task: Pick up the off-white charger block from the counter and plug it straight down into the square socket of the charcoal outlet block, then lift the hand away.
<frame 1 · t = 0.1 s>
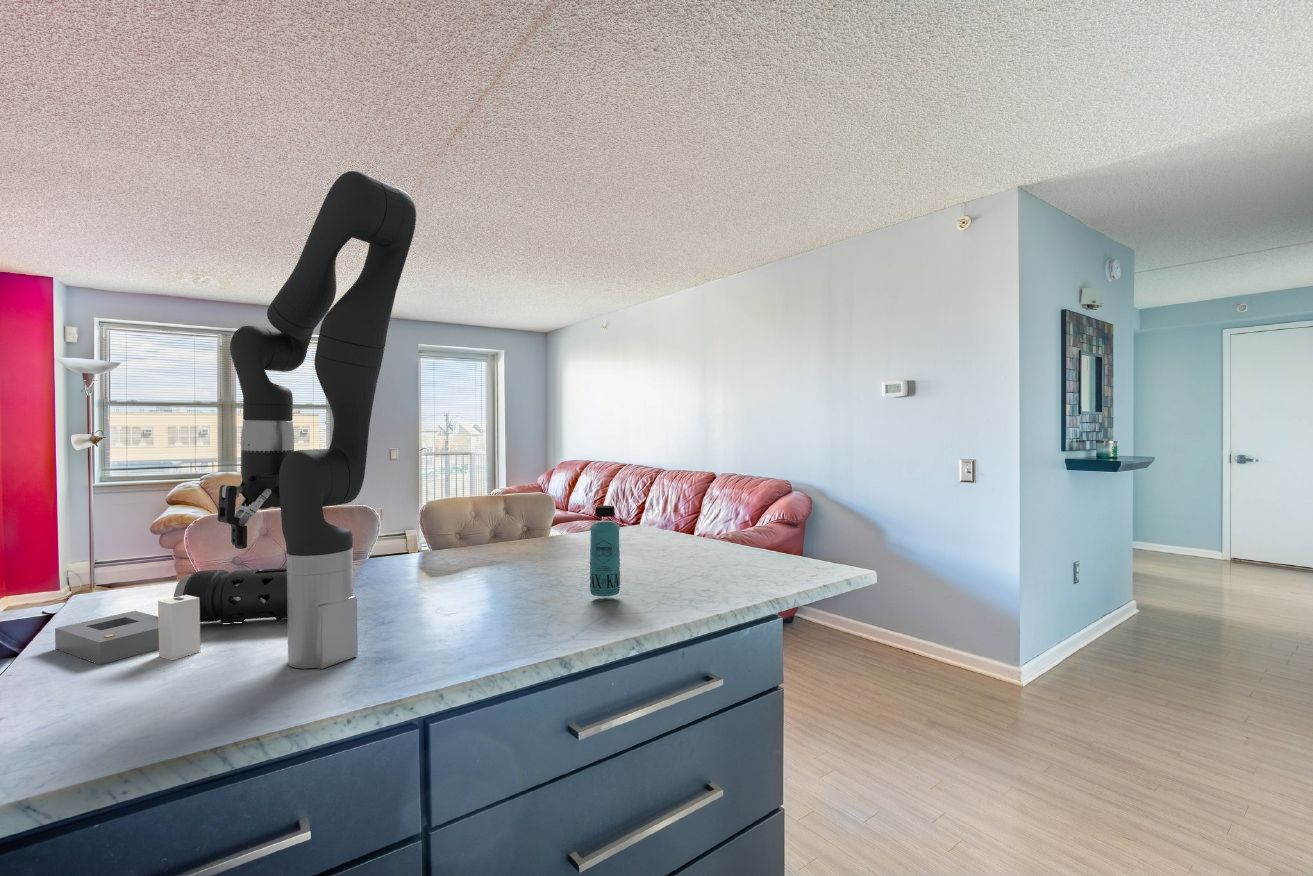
hand: (267, 543, 102), 17 cm above the worktop, tool pointing down, fingers open, 8 cm apart
charger: (179, 654, 99), on the worktop
muzzle brake: (268, 622, 116), on the worktop
outlet block: (119, 645, 103), on the worktop
beverage bottle: (605, 600, 128), on the worktop
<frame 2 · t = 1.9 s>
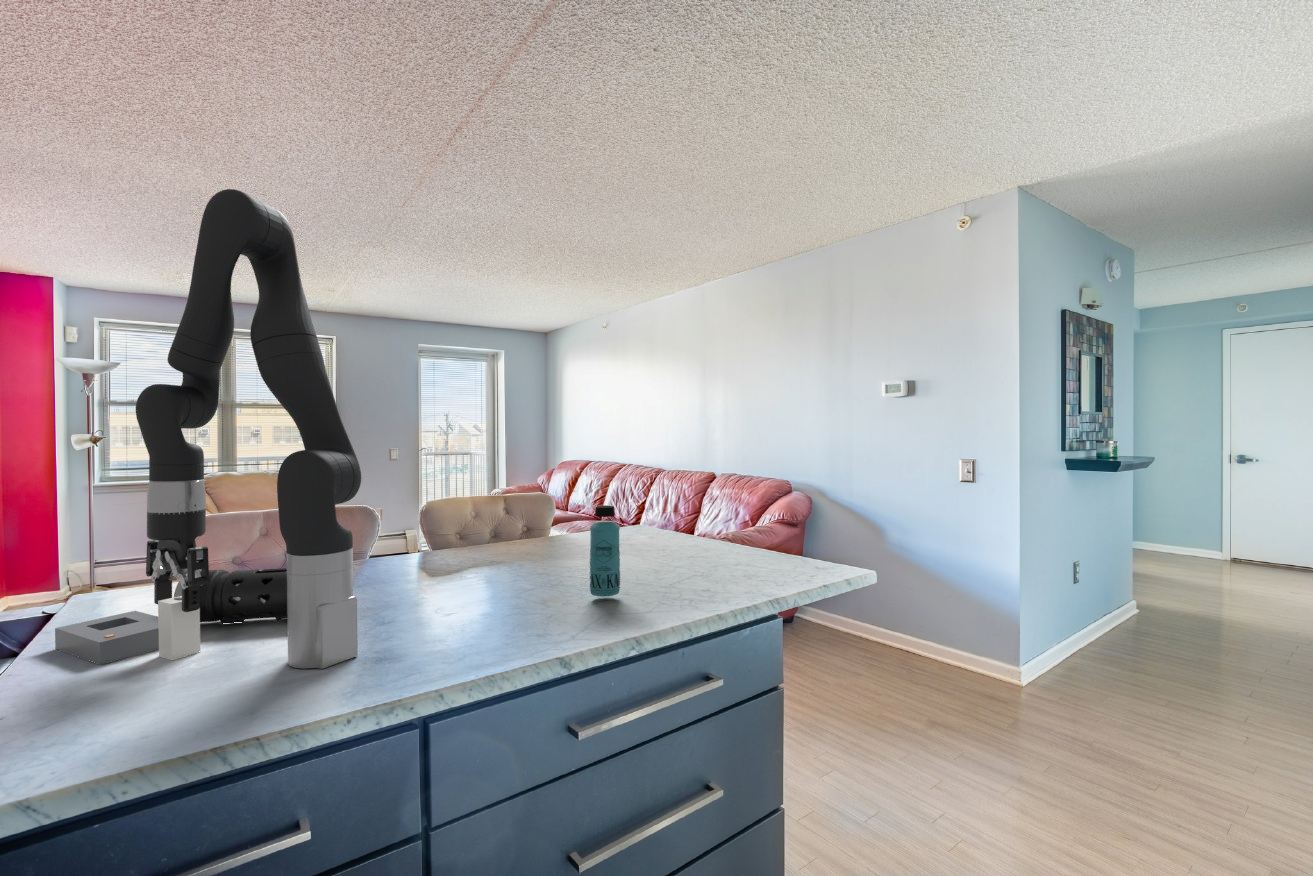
hand: (176, 607, 99), 8 cm above the worktop, tool pointing down, fingers open, 8 cm apart
nothing on the worktop moved.
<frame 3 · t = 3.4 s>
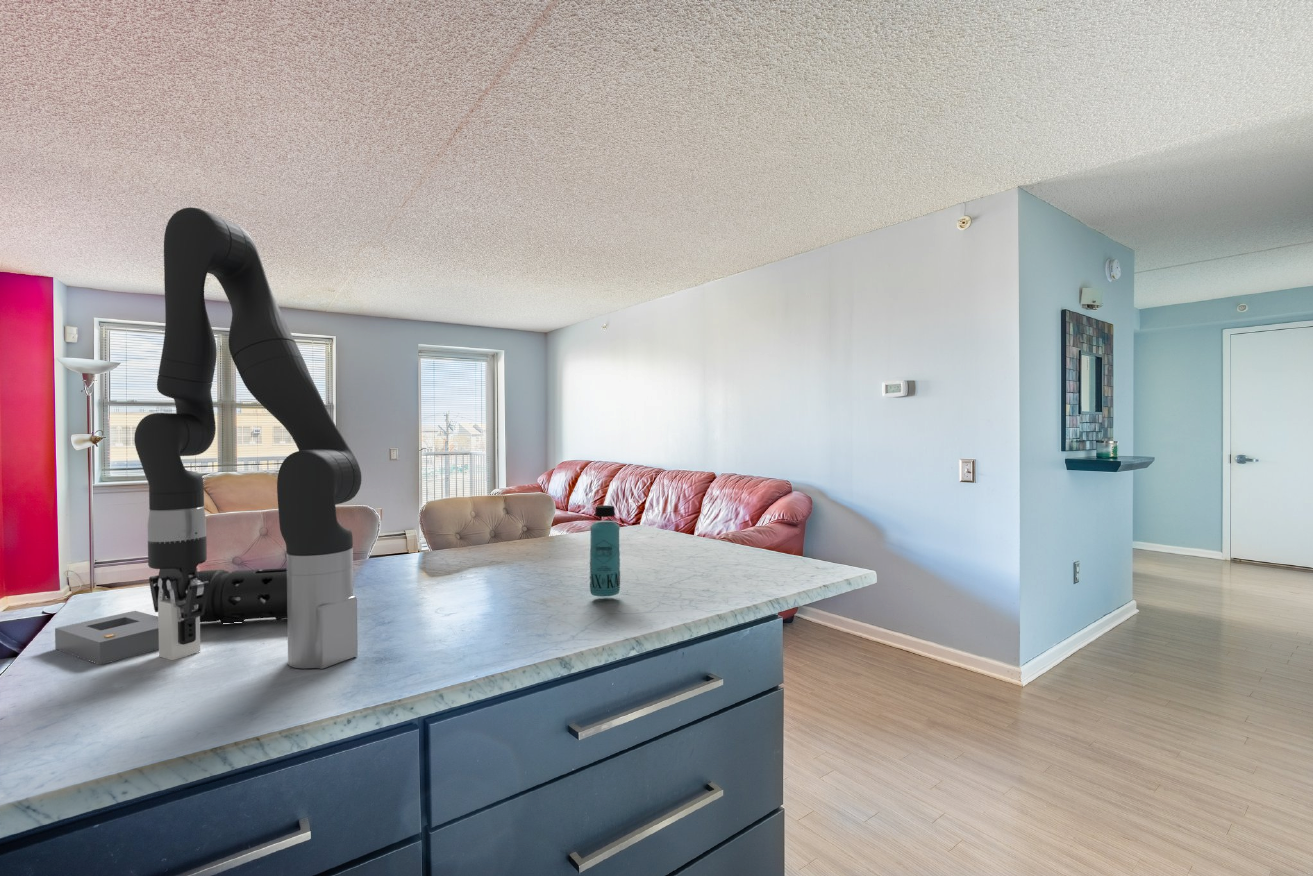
hand: (179, 640, 99), 2 cm above the worktop, tool pointing down, fingers closed on charger, 4 cm apart
charger: (179, 654, 99), on the worktop, touching gripper
everything else where it was.
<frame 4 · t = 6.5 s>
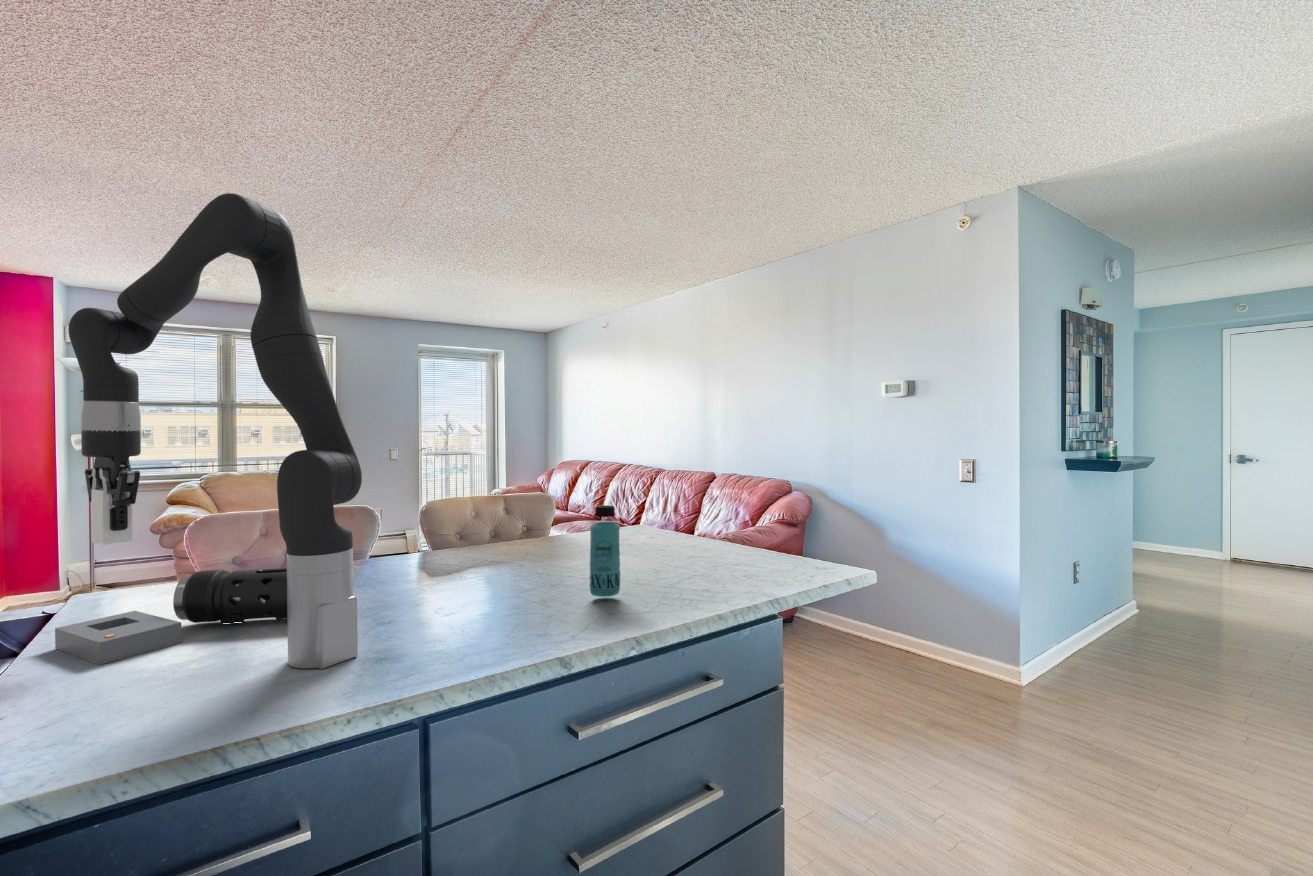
hand: (112, 528, 103), 20 cm above the worktop, tool pointing down, fingers closed on charger, 4 cm apart
charger: (112, 541, 103), point 18 cm above the worktop, touching gripper
everything else where it was.
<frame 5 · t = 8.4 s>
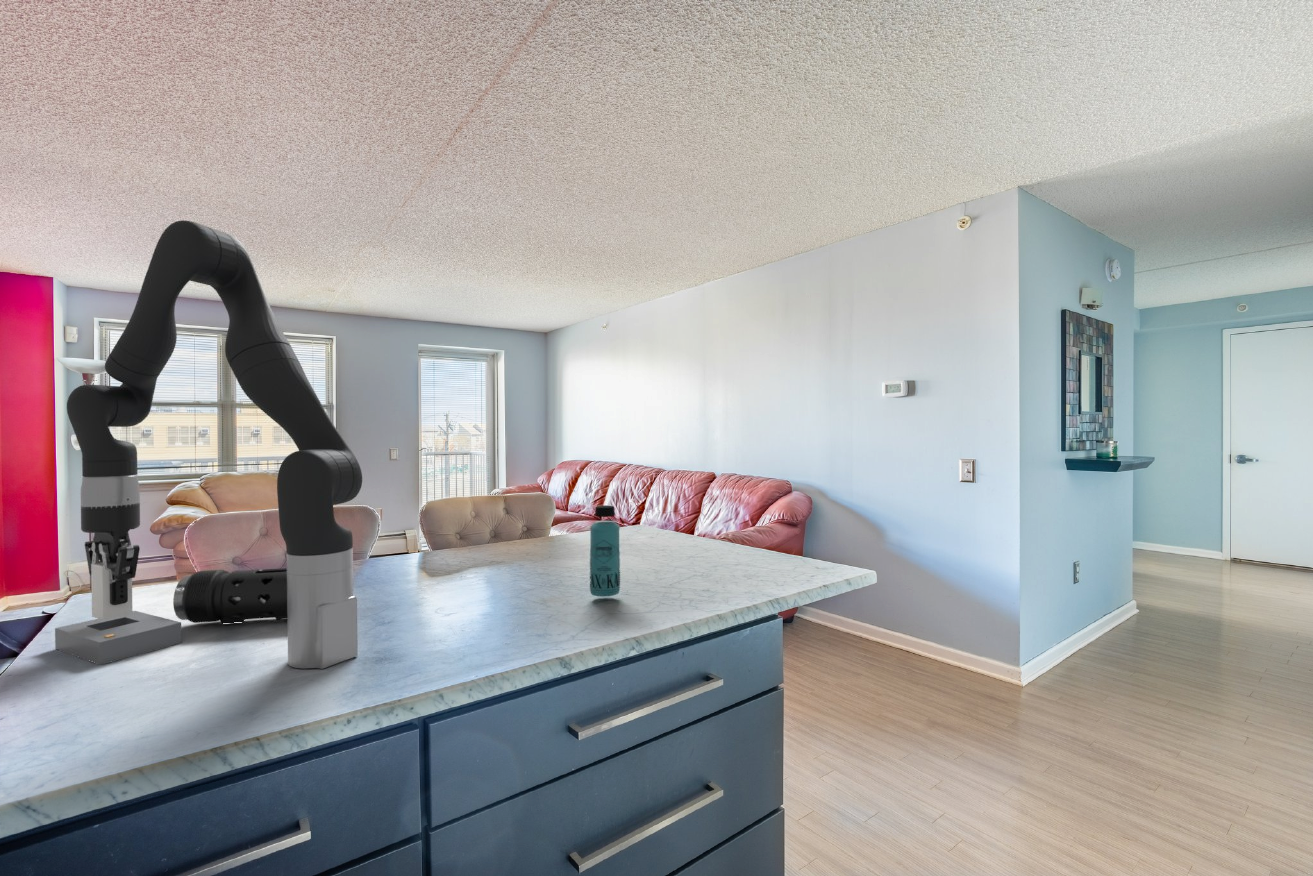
hand: (112, 601, 104), 7 cm above the worktop, tool pointing down, fingers closed on charger, 4 cm apart
charger: (112, 615, 104), point 5 cm above the worktop, touching gripper
everything else where it was.
when the fingers open (5 cm above the worktop, at t = 9.6 s): charger drops 2 cm, resting in outlet block.
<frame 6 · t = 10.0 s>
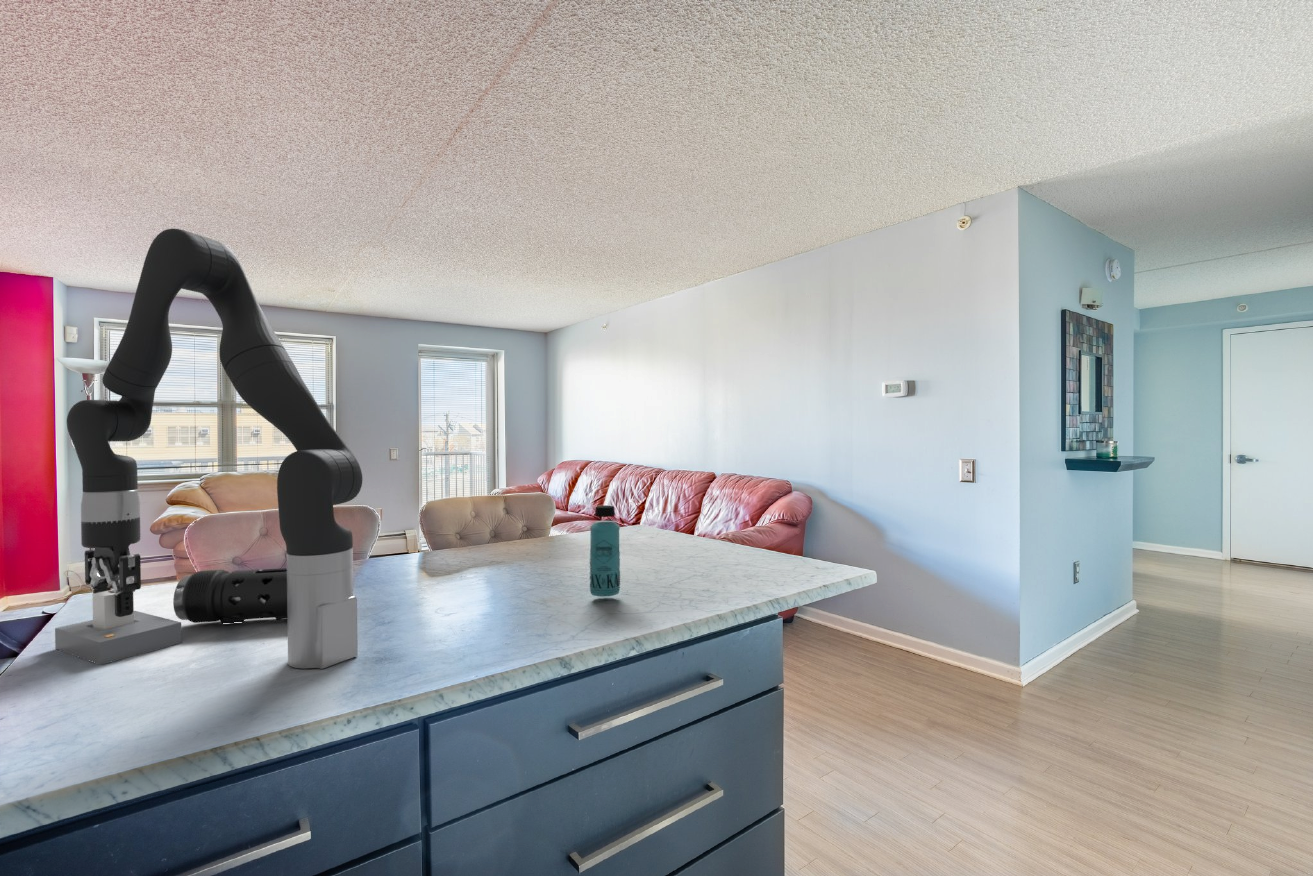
hand: (113, 612, 104), 5 cm above the worktop, tool pointing down, fingers open, 7 cm apart
charger: (114, 644, 104), resting in outlet block
everything else where it was.
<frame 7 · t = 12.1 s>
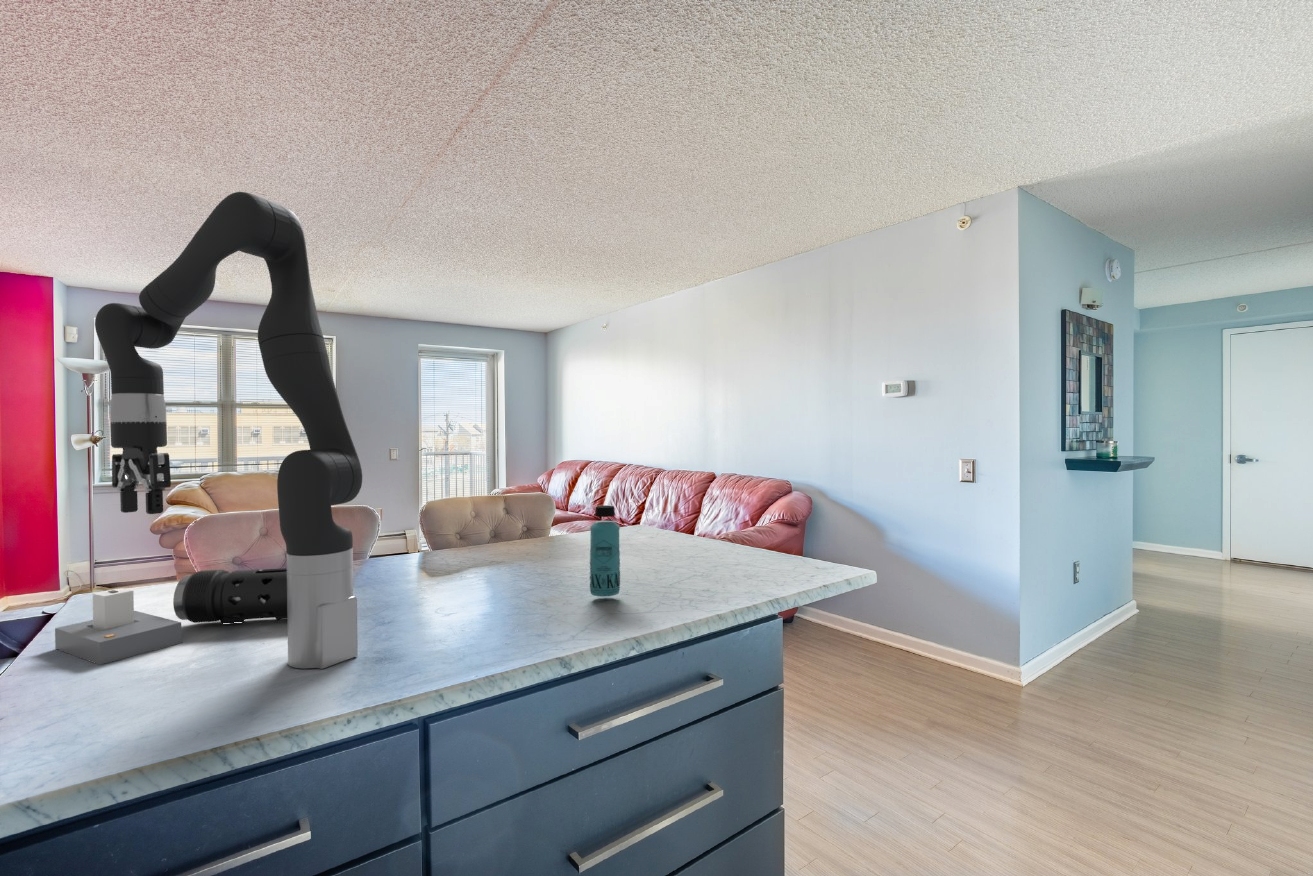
hand: (141, 512, 106), 22 cm above the worktop, tool pointing down, fingers open, 8 cm apart
nothing on the worktop moved.
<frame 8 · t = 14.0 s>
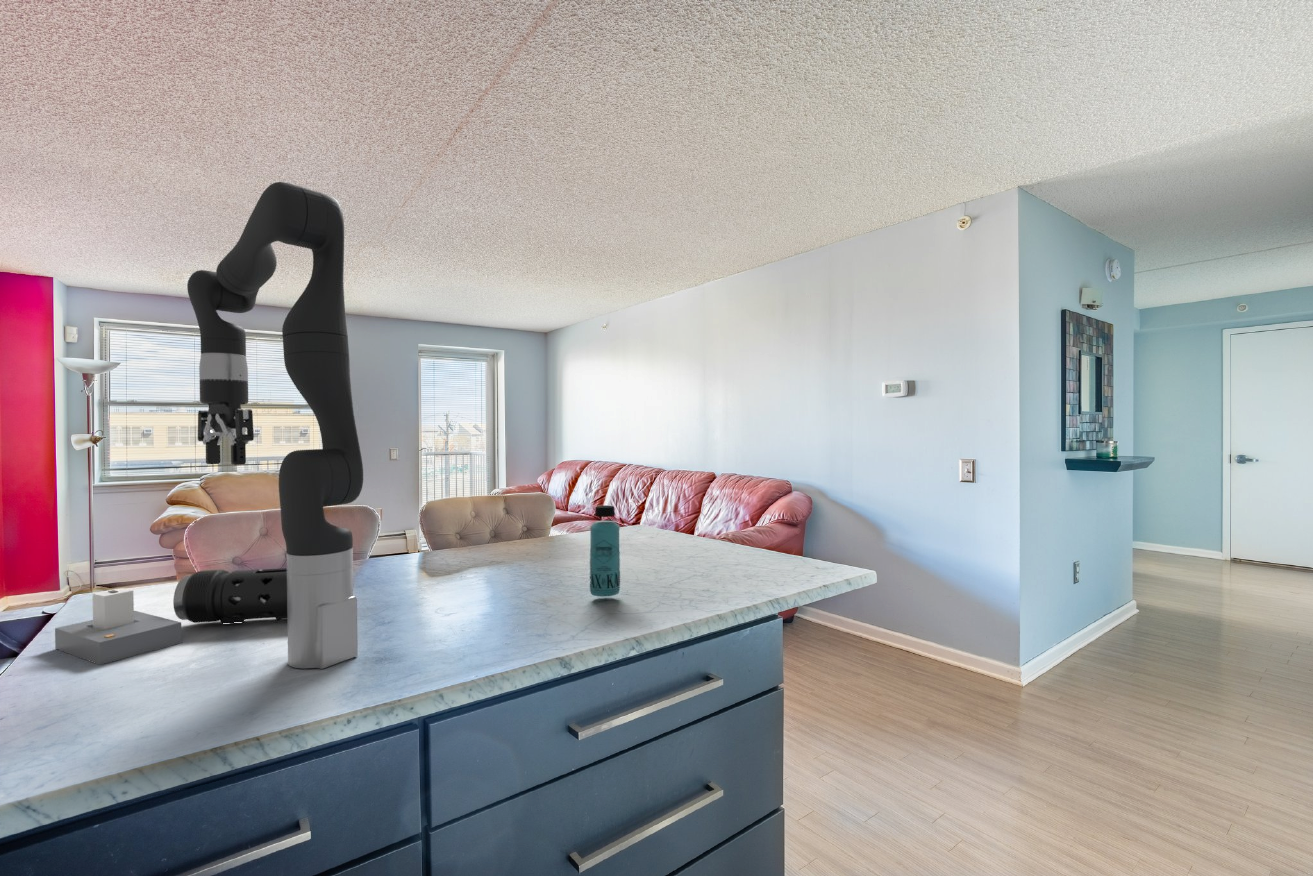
hand: (225, 464, 115), 30 cm above the worktop, tool pointing down, fingers open, 8 cm apart
nothing on the worktop moved.
at the end: charger 0.2 cm from the target spot on the outlet block, point 0.0 cm above the outlet block's base; charger tilted 0°; the gripper is holding nothing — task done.
